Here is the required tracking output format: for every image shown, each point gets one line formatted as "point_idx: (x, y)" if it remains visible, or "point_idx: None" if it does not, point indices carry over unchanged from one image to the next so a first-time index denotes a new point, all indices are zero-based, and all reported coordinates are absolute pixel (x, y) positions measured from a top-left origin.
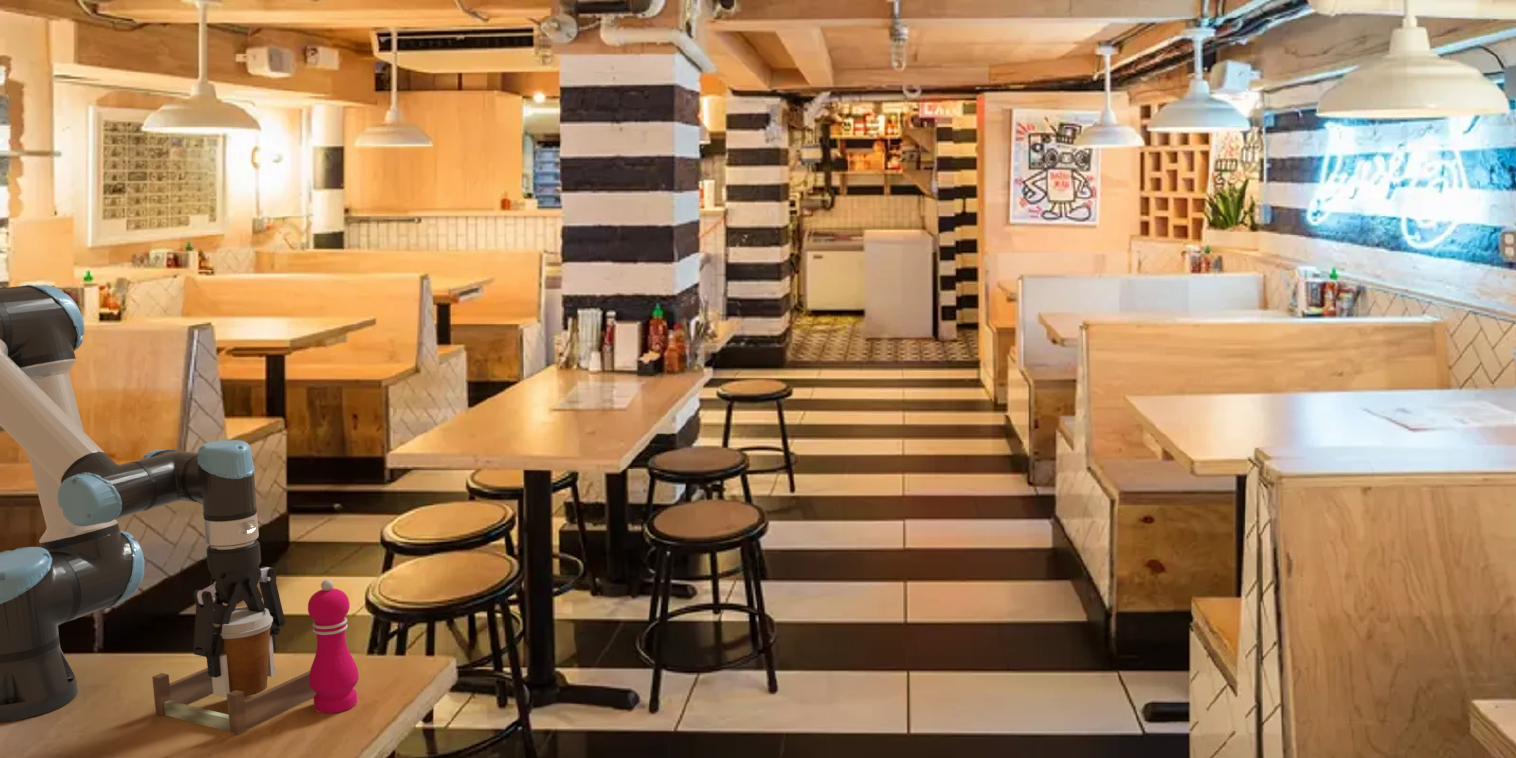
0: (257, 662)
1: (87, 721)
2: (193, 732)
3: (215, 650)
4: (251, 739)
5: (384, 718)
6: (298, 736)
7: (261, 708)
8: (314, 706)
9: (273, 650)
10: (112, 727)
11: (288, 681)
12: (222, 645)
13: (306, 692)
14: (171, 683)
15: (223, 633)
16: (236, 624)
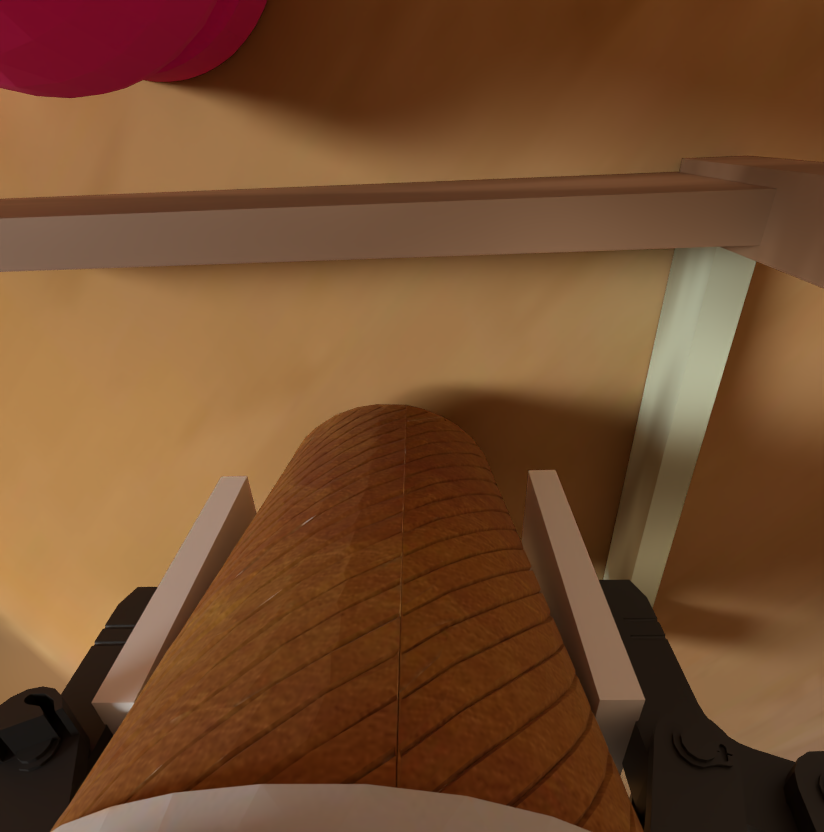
0: (391, 508)
1: (722, 720)
2: (748, 397)
3: (741, 790)
4: (795, 4)
5: None
6: None
7: (574, 185)
8: (261, 2)
9: (142, 601)
10: (752, 650)
11: (287, 245)
12: (667, 817)
13: (196, 197)
14: None
15: None
16: None
